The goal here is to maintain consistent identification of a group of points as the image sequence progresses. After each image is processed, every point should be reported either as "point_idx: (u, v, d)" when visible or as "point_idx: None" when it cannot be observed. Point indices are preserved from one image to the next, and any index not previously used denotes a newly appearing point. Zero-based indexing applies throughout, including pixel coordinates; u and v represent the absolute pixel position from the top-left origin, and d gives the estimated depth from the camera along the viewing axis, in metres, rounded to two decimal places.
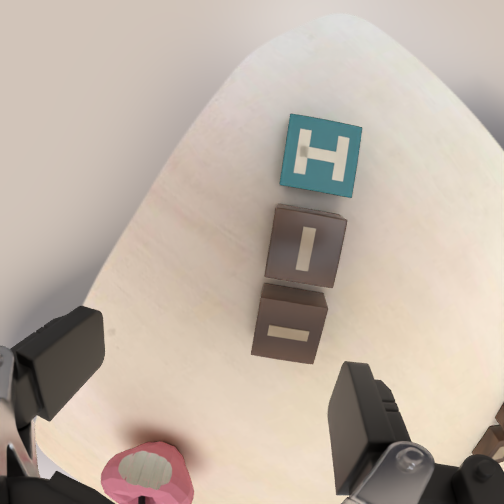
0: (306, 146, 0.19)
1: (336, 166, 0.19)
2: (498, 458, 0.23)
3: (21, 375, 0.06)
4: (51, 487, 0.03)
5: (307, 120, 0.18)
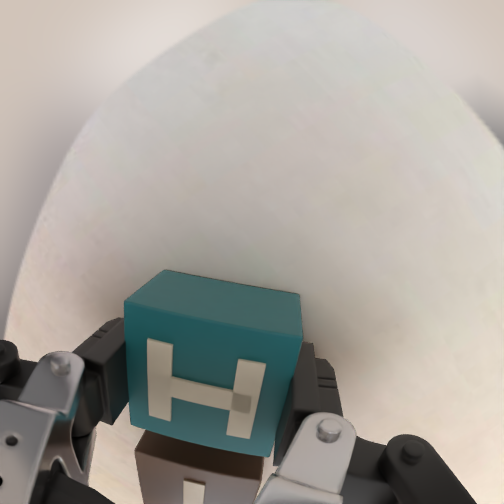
0: (165, 376, 0.08)
1: (234, 417, 0.08)
2: None
3: (90, 381, 0.07)
4: (51, 487, 0.03)
5: (161, 320, 0.08)
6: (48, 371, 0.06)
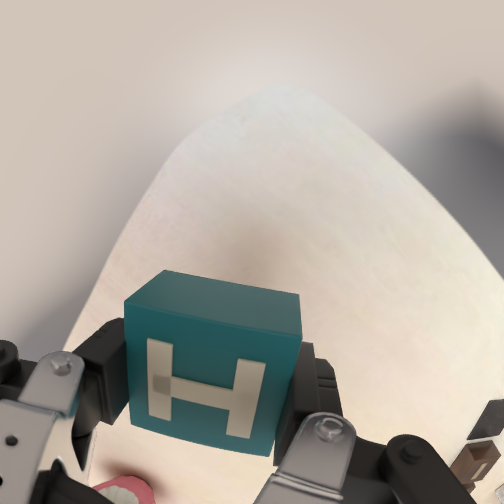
0: (165, 376, 0.08)
1: (234, 416, 0.08)
2: None
3: (90, 381, 0.07)
4: (52, 487, 0.03)
5: (161, 320, 0.08)
6: (48, 371, 0.06)
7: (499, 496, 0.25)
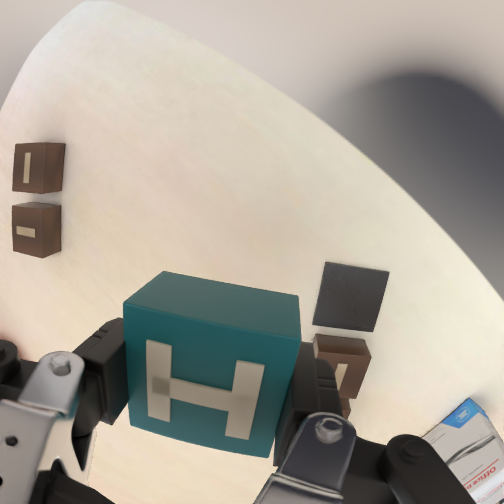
0: (164, 377, 0.08)
1: (233, 417, 0.08)
2: None
3: (90, 381, 0.07)
4: (52, 487, 0.03)
5: (160, 321, 0.08)
6: (48, 371, 0.06)
7: None
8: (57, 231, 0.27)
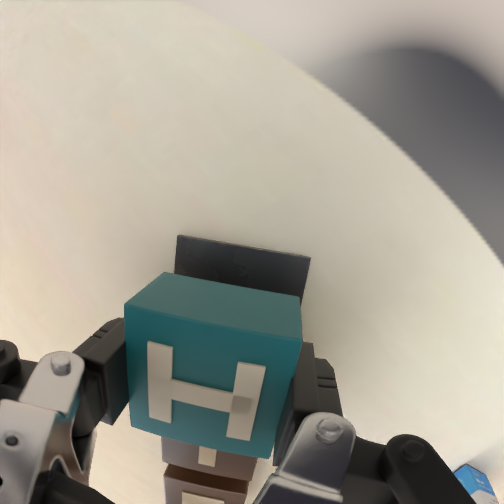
0: (165, 378, 0.08)
1: (234, 418, 0.08)
2: None
3: (90, 381, 0.07)
4: (52, 487, 0.03)
5: (161, 323, 0.08)
6: (48, 371, 0.06)
7: None
8: None
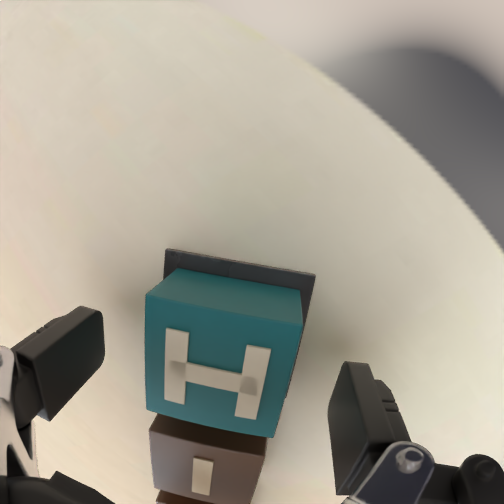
0: (181, 362, 0.09)
1: (242, 398, 0.09)
2: None
3: (21, 375, 0.06)
4: (52, 487, 0.03)
5: (179, 311, 0.09)
6: None
7: None
8: None
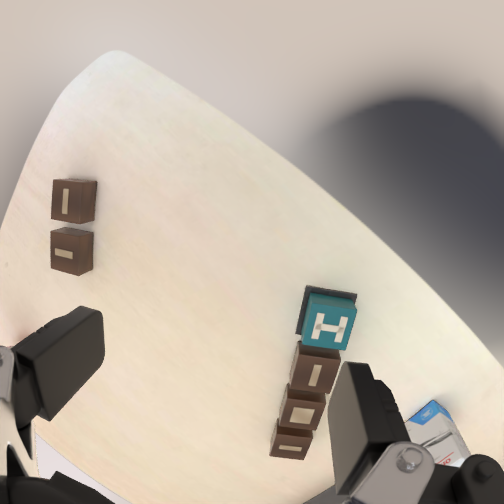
0: (320, 323, 0.30)
1: (338, 334, 0.30)
2: (302, 422, 0.33)
3: (21, 375, 0.06)
4: (52, 487, 0.03)
5: (322, 307, 0.30)
6: None
7: None
8: (90, 253, 0.35)
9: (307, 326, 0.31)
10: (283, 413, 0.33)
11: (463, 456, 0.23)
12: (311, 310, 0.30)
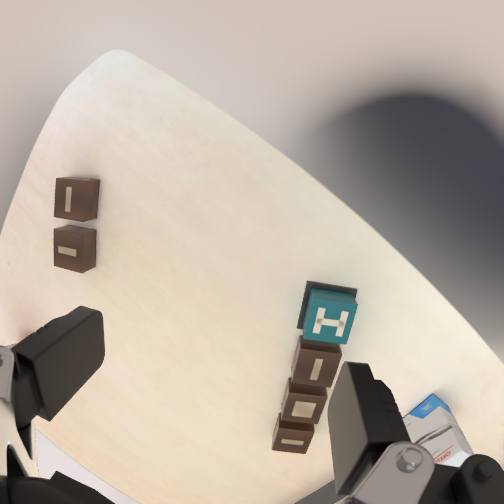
0: (321, 317, 0.31)
1: (338, 328, 0.31)
2: (304, 416, 0.34)
3: (21, 375, 0.06)
4: (52, 487, 0.03)
5: (323, 302, 0.31)
6: None
7: None
8: (93, 251, 0.35)
9: (308, 321, 0.31)
10: (285, 407, 0.34)
11: (463, 449, 0.24)
12: (312, 305, 0.31)
